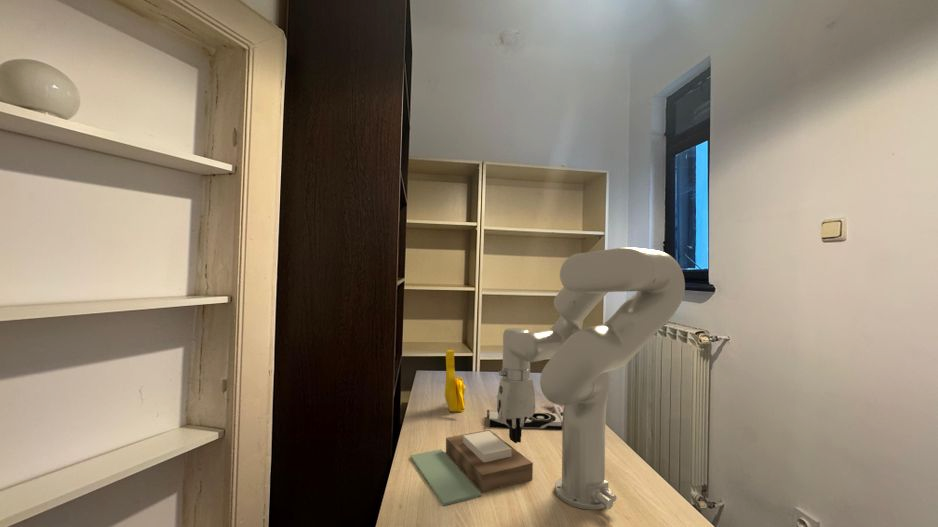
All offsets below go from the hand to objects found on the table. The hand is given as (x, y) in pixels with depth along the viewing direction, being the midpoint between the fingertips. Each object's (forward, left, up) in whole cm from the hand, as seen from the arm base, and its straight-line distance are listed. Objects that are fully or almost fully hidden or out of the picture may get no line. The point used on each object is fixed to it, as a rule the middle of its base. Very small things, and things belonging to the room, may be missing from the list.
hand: (515, 440), depth 105 cm
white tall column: (+19, -33, -5) cm, 39 cm away
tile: (0, +9, -1) cm, 9 cm away
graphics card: (+19, -16, -6) cm, 26 cm away
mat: (0, +21, -5) cm, 22 cm away
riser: (0, +9, -5) cm, 10 cm away
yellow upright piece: (+41, 0, -5) cm, 41 cm away
